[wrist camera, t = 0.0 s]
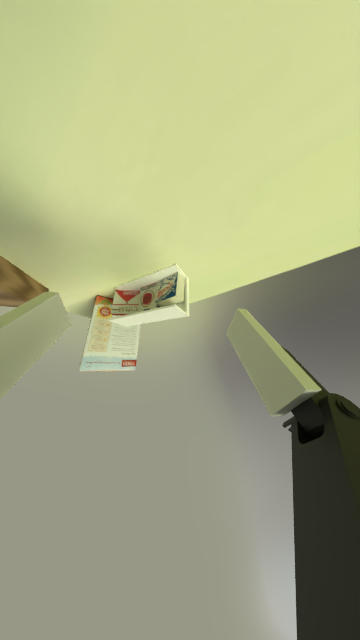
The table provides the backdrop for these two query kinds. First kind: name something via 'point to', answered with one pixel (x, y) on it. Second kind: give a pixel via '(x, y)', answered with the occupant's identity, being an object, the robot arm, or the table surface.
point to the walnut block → (17, 285)
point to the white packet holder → (152, 297)
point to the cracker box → (109, 341)
